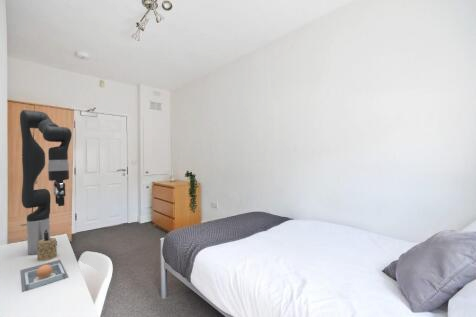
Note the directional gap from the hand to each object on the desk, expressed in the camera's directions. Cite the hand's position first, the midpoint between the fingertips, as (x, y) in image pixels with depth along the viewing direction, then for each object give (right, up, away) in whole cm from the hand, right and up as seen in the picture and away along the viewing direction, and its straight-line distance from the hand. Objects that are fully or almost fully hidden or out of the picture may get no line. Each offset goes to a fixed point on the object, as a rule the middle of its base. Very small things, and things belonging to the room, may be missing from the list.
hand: (59, 204), depth 106 cm
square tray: (+3, -28, -12) cm, 30 cm away
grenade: (-12, -29, +7) cm, 32 cm away
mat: (0, -28, -9) cm, 30 cm away
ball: (+3, -27, -13) cm, 30 cm away
